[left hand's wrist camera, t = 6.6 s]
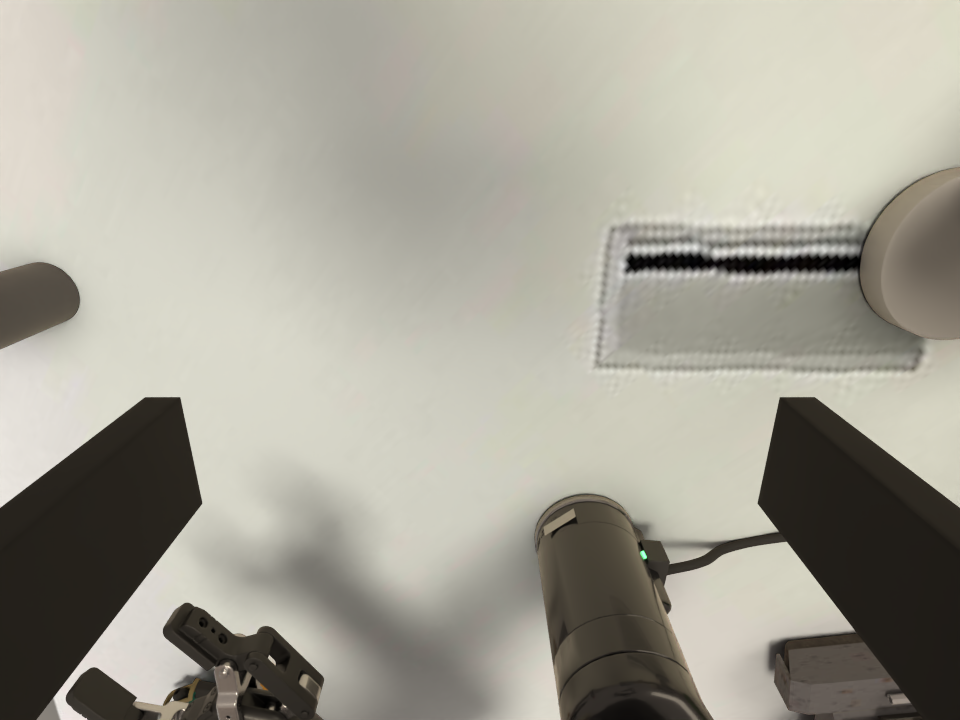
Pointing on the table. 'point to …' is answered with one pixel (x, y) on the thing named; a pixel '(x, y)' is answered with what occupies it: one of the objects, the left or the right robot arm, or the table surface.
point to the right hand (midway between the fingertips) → (124, 649)
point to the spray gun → (192, 691)
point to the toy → (839, 681)
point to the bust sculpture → (917, 259)
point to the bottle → (34, 301)
